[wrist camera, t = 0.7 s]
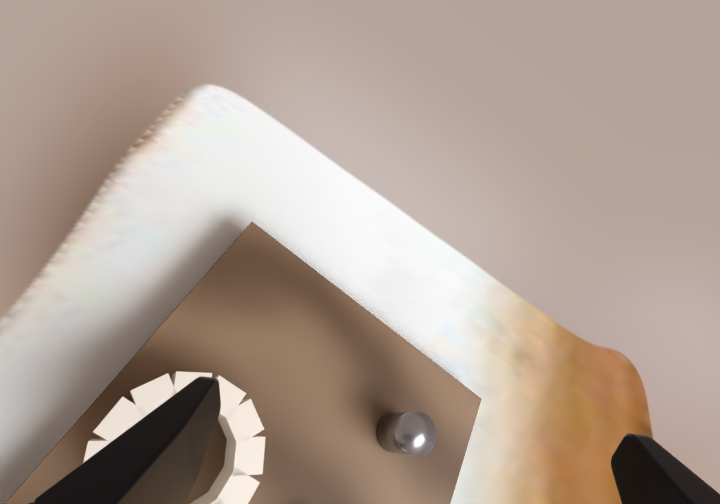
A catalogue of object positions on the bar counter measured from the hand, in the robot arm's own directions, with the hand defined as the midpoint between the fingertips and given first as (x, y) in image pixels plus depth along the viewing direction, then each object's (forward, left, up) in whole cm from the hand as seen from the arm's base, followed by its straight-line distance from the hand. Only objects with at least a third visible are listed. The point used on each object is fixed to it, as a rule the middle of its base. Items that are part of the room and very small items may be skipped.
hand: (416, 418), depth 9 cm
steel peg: (+3, -7, -13) cm, 15 cm away
